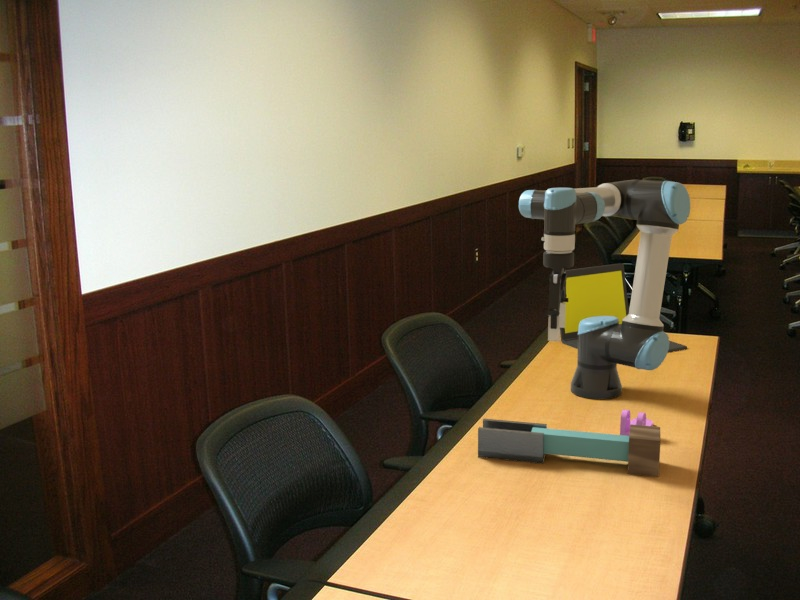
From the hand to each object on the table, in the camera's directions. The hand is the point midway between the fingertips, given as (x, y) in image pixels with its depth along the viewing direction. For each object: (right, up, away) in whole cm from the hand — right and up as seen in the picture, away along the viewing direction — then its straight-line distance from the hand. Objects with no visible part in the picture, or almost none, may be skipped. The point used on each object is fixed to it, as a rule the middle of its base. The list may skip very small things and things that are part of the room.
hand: (556, 333), depth 211 cm
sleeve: (-12, -30, -2) cm, 32 cm away
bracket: (+24, -27, +12) cm, 38 cm away
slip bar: (+5, -29, -8) cm, 31 cm away
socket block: (+19, -32, -11) cm, 38 cm away
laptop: (+40, -8, +94) cm, 103 cm away
